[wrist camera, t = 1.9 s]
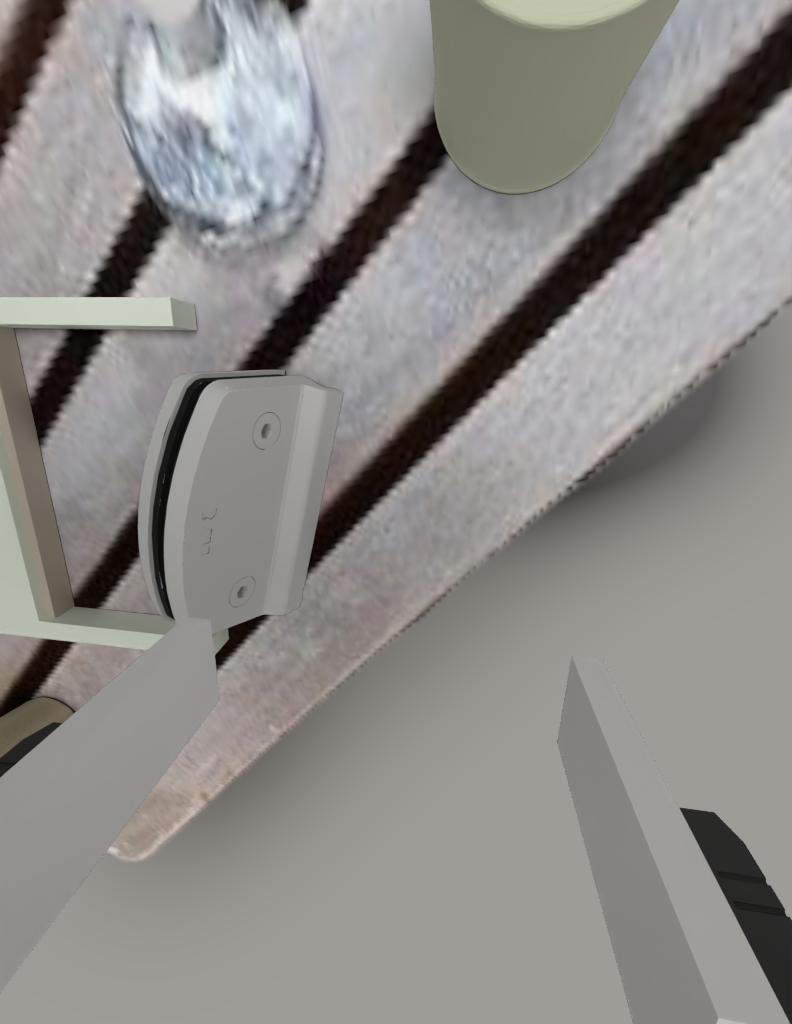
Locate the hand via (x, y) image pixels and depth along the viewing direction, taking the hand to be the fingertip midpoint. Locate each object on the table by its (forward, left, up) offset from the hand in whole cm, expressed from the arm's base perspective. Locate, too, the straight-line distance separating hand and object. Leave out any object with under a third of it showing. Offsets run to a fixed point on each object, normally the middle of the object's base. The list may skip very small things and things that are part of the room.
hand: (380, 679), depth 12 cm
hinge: (-11, 0, -18) cm, 21 cm away
